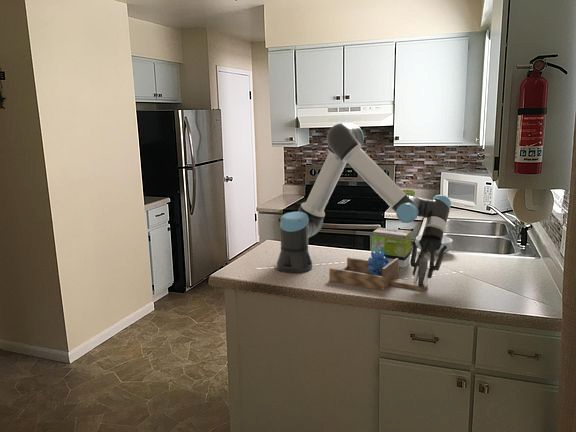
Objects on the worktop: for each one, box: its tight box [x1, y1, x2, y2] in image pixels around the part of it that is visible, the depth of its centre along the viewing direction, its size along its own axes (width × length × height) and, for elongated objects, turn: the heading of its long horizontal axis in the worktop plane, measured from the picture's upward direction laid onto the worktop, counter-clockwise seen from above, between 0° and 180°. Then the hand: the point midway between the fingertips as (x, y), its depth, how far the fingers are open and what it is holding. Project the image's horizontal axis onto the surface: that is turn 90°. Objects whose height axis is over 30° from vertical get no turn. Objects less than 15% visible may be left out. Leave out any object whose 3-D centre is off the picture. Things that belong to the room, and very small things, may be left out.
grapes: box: [368, 252, 389, 276], centre depth 190 cm, size 12×7×12 cm, turn 130°
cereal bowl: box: [415, 234, 453, 256], centre depth 231 cm, size 17×17×7 cm
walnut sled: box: [328, 257, 429, 292], centre depth 190 cm, size 36×18×12 cm, turn 59°
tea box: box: [370, 227, 412, 269], centre depth 214 cm, size 15×10×15 cm, turn 62°
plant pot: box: [401, 189, 417, 197], centre depth 354 cm, size 12×12×11 cm
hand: (419, 284), depth 179 cm, fingers closed on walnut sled, 3 cm apart
